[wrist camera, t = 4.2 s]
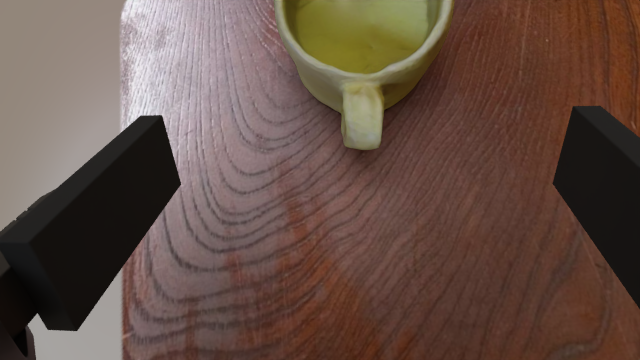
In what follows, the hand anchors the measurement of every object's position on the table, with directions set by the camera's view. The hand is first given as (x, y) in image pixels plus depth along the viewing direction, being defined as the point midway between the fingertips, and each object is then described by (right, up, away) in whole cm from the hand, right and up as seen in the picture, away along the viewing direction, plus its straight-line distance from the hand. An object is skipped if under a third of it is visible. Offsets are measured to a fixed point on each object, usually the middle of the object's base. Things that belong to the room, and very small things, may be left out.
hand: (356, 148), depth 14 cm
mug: (+2, +5, +15) cm, 16 cm away
